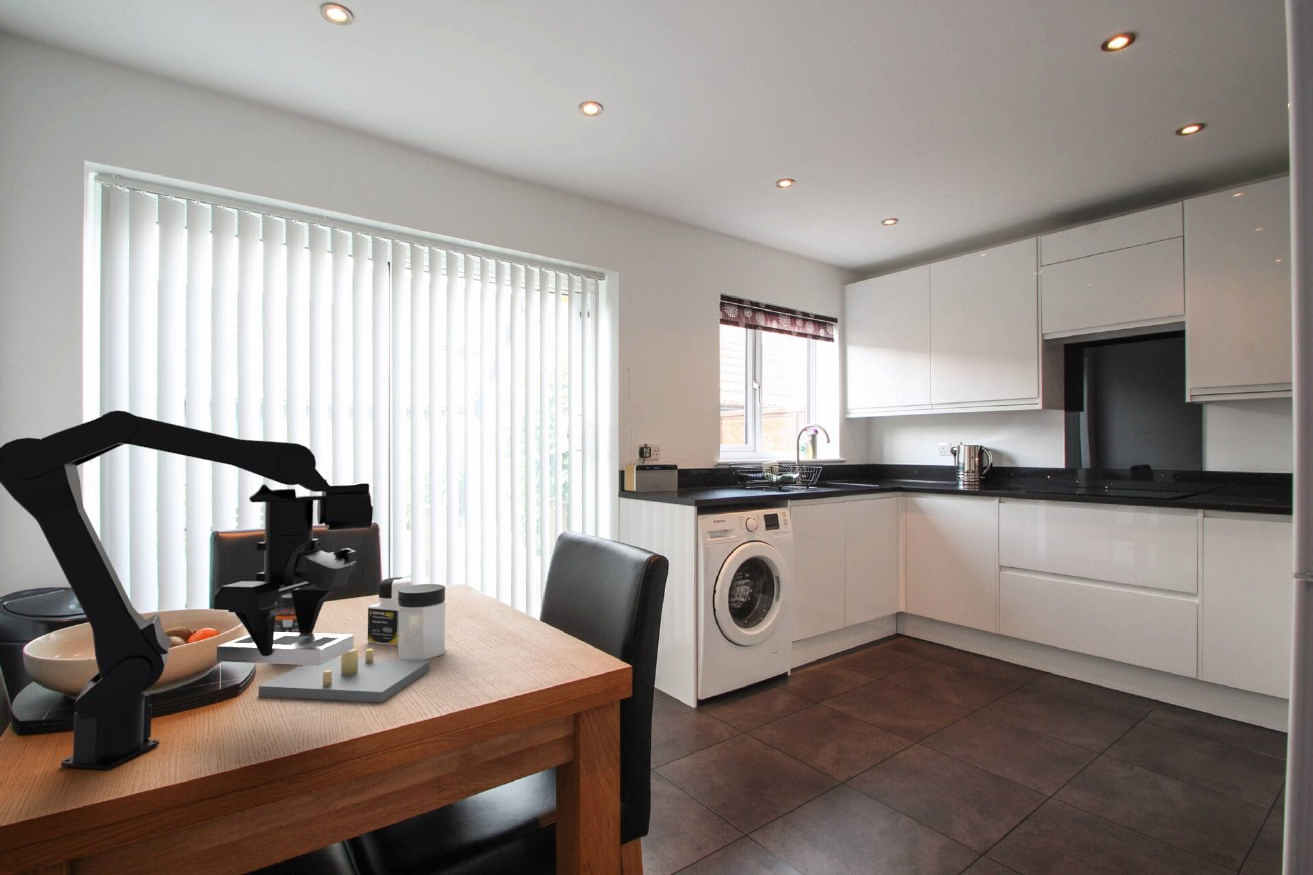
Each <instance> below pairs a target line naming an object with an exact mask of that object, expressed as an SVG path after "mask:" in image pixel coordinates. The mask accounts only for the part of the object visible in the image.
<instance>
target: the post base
mask: <svg viewBox="0 0 1313 875" xmlns="http://www.w3.org/2000/svg"><path fill="white" fill-rule="evenodd" d="M430 670H431V660H423V661H421V660H399V659H394V658H393V659H392V658H374V649H373V648H368V649H365V657H359V649H358V648H356V647H355V648H354V647H353V649H352V650H350V651H348V652H346V653H344V654H342V655H340V656H338V657H336V658H334V659H332V660H330V661H328V662H326V663H324V664H322V665H300V666H299V667H296V668H294V669H292V670H290V671H288V672H286V673H284V674H282V675H279V676H277V677H275V678H272V679H271V680H269V681H266V682H265V683H262V684H260V685H259V686H258V697H266V698H270V697H271V698H284V699H285V698H286V699H303V700H304V699H306V700H324V701H325V700H326V701H327V700H328V701H329V700H330V701H345V702H347V701H348V702H364V703H365V702H366V703H368V702H369V703H384V702H385V701H386V700H389V698H391V697H392V696H393V695H395V694H396V693H398V692H400V691H401V690H403V689H404V688H406V687H407V686H409V685H410V684H412V683H413V682H414V681H416V680H418V679H419V678H420V677H422V676H423V675H425V674H426V673H428V672H429V671H430ZM405 686H406V687H405ZM402 688H403V689H402ZM383 701H384V702H383Z"/></svg>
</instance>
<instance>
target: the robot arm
mask: <svg viewBox="0 0 1313 875" xmlns="http://www.w3.org/2000/svg"><path fill="white" fill-rule="evenodd" d="M124 445H131V446H137V447H141V448H146V449H151V450H155V451H161V452H165V453H171V454H175V455H180V456H185V457H189V458H195V459H200V460H204V461H209V462H215V463H220V464H225V465H230V466H233V467H236V468H239V469H241V470H244V471H246V472H250V473H252V474H254V475H257V476H259V477H264V478H266V479H268V480H271V481H274V482H276V483H280V484H283V485H285V486H295V485H298V486H301V487H302V488H304V489H305V490H308V491H311V492H314V493H317V492H320V493H321V495H297V493H296V489H295V488H283V489H282V488H280V489H279V488H277V489H270V488H269V487H268V485H267V484H265V483H263V484H261V485H260V487H259V489H258V490H256V492H254V493H253V494H252V495H251V496H249V498H248V499H249V501H250V503H265V506H264V508H265V509H264V512H265V514H264V515H265V516H264V541H261V542H257V543H256V551H264V552H263V554H264V557H263V558H264V559H263V560H264V562H263V563H264V564H263V571H261V572H257V573H256V574H255V575H256V576H255V580H252V581H251V580H250V581H249V580H248V581H246V580H241V581H238V582H234V583H233V582H232V583H230V584H225V585H221V586H220V587H218V589H217V590H216V591H215V592H214V593H213V610H215V611H217V610H219V611H228V613H234V614H235V615H236V617H237V618H238V619H239V621H240V622H241V623H242V625H243V626H244V628H245V630H246V631H247V632H248V635H250V636H251V638H252V639H253V641H254V643H255V645H256V646H257V648H258V650H259V652H260V653H261V655H262V656H270V655H271V653H272V648H273V640H274V629H275V618H276V615H277V614H278V613H279V612H280V610H281V609H282V608H283V607H284V606H285V604H281V603H277V601H278V600H279V598H280V595H281V594H283V593H287V592H290V594H292V599H293V603H294V609H295V614H296V619H297V624H298V629H299V632H300V633H314V629H315V626H316V624H317V621H318V619H319V615H320V612H321V611H322V607H323V605H324V603H325V601H326V600H327V599H328V597H330V596H331V595H332V594H333V593H334V592H336V591H338V590H339V589H340V587H346V585H347V583H349V582H350V574H354V573H356V572H357V571H358V567H357V564H358V562H357V561H358V559H357V551H356V550H354V549H352V548H349V547H346V548H341V549H339V550H338V551H337V552H336V553H335V552H334V551H332V552H326V551H324V550H323V549H322V542H321V541H320V540H321V539H320V538H314V501H317V507H316V515H317V517H316V519H317V524H318V525H324V526H325V529H326V531H327V532H333V531H334V532H336V531H351V530H352V531H353V530H367V529H370V528H371V527H372V524H373V523H372V522H373V515H374V514H373V513H374V507H373V506H374V505H373V504H372V497H371V492H370V483H366V482H356V483H353V484H329V483H328V480H327V479H326V478H324V477H323V475H321V474H320V472H319V470H318V469H316V466H317V461H316V457H315V455H314V453H313V452H312V450H311V449H310V448H308V447H307V446H305V445H304V444H303V445H302V444H300V443H295V442H294V443H293V442H282V441H272V440H271V441H269V440H250V439H240V438H236V437H233V436H232V437H231V436H227V435H223V434H219V433H218V434H217V433H213V432H211V431H210V432H209V431H204V430H200V429H196V428H192V427H187V426H182V425H179V424H173V423H171V422H170V423H169V422H165V421H160V420H156V419H152V418H147V417H143V416H139V415H138V416H137V415H135V414H133V413H130V412H128V411H125V410H111V411H109V412H106V413H104V414H102V416H100V417H98V418H94V419H92V420H90V421H85V422H83V423H81V424H77V425H75V426H72V427H69V428H65V429H63V430H60V431H57V432H55V433H52V434H50V435H47V436H45V437H42V438H35V437H23V438H16V439H13V440H11V441H9V442H6V443H5V444H3V445H2V446H0V484H1V486H2V487H3V488H4V489H5V490H6V491H7V492H8V494H9V495H10V496H11V497H12V498H13V499H14V501H16V502H17V503H18V505H20V506H21V507H22V508H23V509H24V510H25V511H27V513H28V514H30V516H32V517H33V518H34V519H35V521H36V522H37V524H38V525H39V527H40V529H41V531H42V533H43V535H44V537H45V539H46V541H47V543H48V545H49V546H50V548H51V551H52V552H53V555H54V557H55V558H56V561H57V562H58V565H59V566H60V568H61V570H62V572H63V574H64V576H65V578H66V580H67V582H68V584H69V586H70V588H71V589H72V591H73V593H74V595H75V597H76V599H77V602H78V603H79V606H80V607H81V609H82V611H83V613H84V615H85V618H86V620H87V622H88V623H89V625H90V626H91V630H92V638H93V646H94V656H95V661H96V664H97V669H98V673H95V675H94V676H93V677H92V678H90V679H89V680H88V681H87V683H86V685H85V686H84V687H83V689H82V690H81V692H80V694H79V695H78V697H76V698H77V699H76V700H75V701H74V703H73V707H74V709H75V712H74V714H73V715H74V721H73V722H74V723H73V747H72V748H73V749H72V756H70V757H68V758H65V759H63V760H61V761H60V767H63V768H65V767H66V768H67V767H68V768H78V769H80V768H81V769H94V770H95V769H97V770H108V769H111V768H113V767H116V766H117V765H120V764H122V763H124V762H126V761H128V760H130V759H132V758H134V757H136V756H138V755H140V754H142V753H144V752H147V751H149V750H150V749H153V748H154V747H156V746H159V744H160V739H150V738H151V735H152V734H151V732H152V708H153V707H152V704H151V703H150V693H143V692H145V691H146V690H148V689H150V688H152V687H153V686H154V685H155V684H156V683H158V681H159V680H160V678H161V676H162V674H163V673H164V670H165V667H166V665H167V661H168V658H169V649H170V647H171V644H172V641H173V638H171V637H170V636H168V635H167V634H166V631H164V629H163V627H162V626H163V625H162V621H161V618H160V615H159V613H156V614H155V615H152V616H151V617H149V618H147V619H145V617H143V616H142V615H141V614H140V613H139V612H138V610H136V609H135V608H134V606H133V605H132V604H133V603H131V601H130V598H129V597H128V594H127V593H126V590H125V588H124V586H123V584H122V583H121V580H120V578H119V576H118V574H117V571H116V570H115V568H114V567H113V564H112V562H111V560H110V558H109V556H108V554H107V552H106V550H105V548H104V545H103V544H102V541H101V540H100V538H99V536H98V534H97V532H96V530H95V527H94V526H93V524H92V522H91V519H90V518H89V516H88V513H87V512H86V509H85V507H84V502H83V495H82V485H81V479H80V475H79V471H78V466H80V465H83V464H85V463H87V462H90V461H92V460H94V459H96V458H97V457H100V456H102V455H104V454H107V453H108V452H111V451H112V450H115V449H117V448H120V447H122V446H124Z"/></svg>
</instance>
